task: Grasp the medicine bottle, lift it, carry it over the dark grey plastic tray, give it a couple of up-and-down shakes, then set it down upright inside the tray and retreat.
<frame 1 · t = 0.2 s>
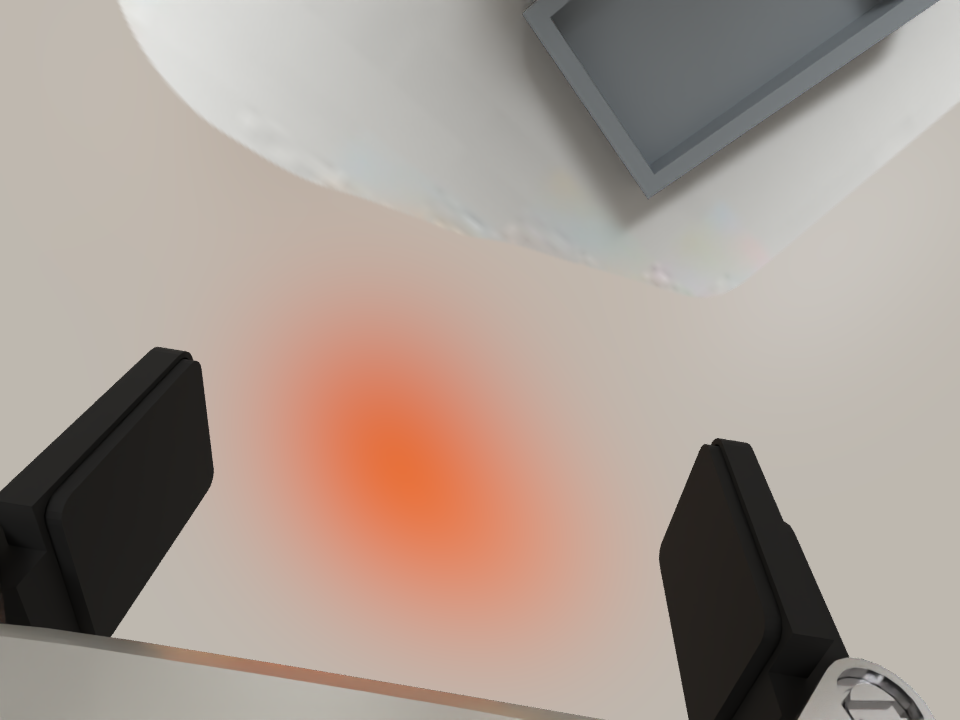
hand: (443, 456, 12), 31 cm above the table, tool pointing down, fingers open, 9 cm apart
tray: (712, 4, 34), on the table
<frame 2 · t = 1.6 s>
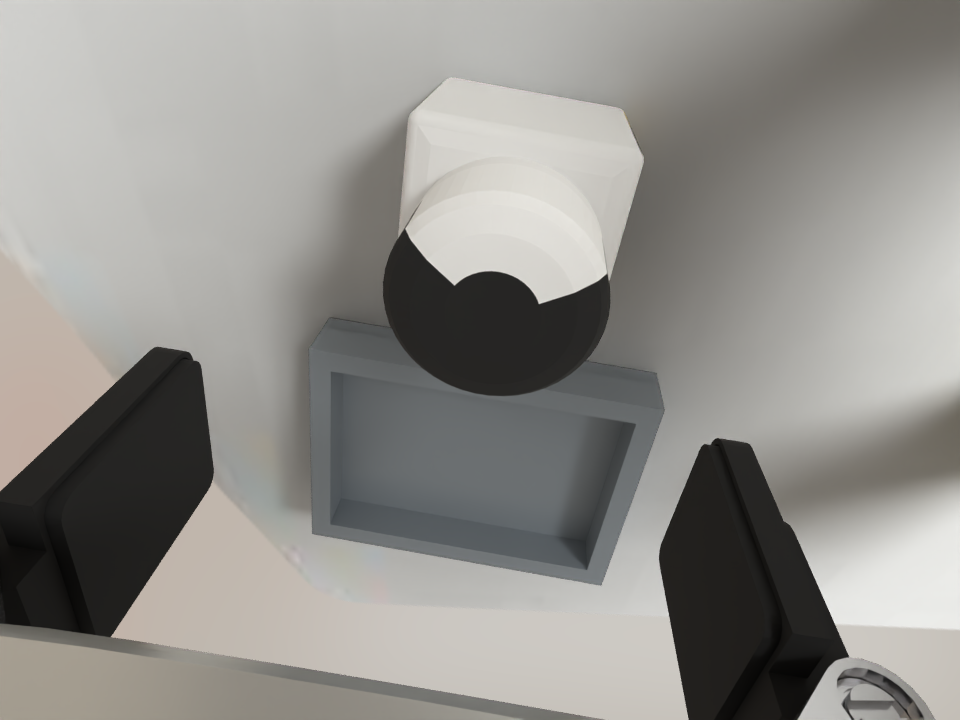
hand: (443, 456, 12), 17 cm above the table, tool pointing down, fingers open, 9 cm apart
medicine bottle: (519, 180, 26), on the table
tray: (476, 440, 34), on the table
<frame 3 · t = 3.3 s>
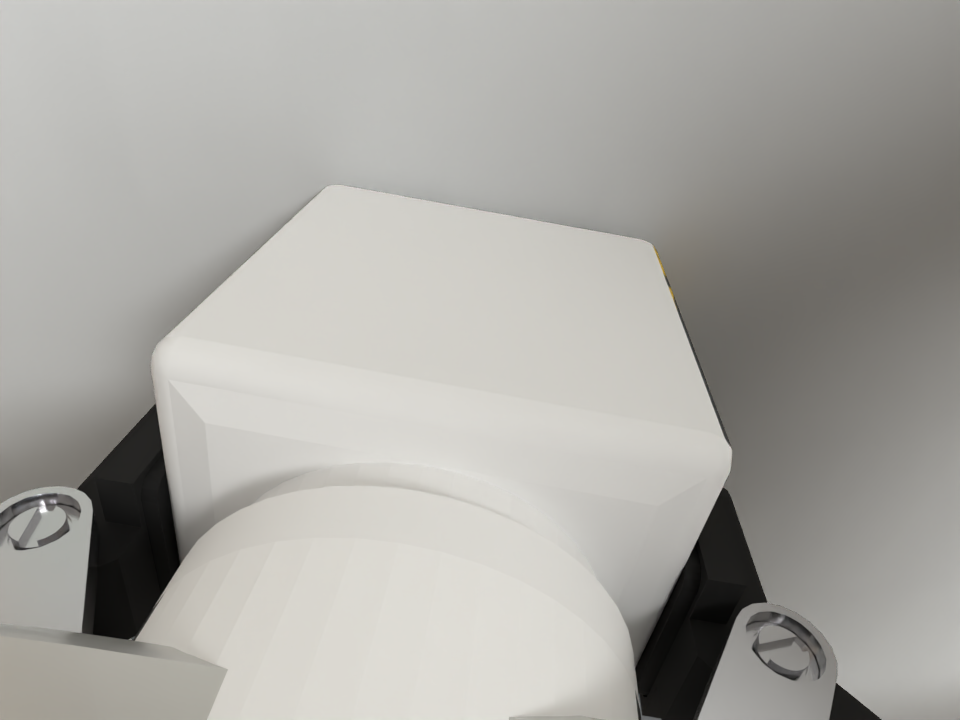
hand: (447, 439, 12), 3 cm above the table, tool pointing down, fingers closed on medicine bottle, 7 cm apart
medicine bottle: (469, 346, 15), on the table, touching gripper
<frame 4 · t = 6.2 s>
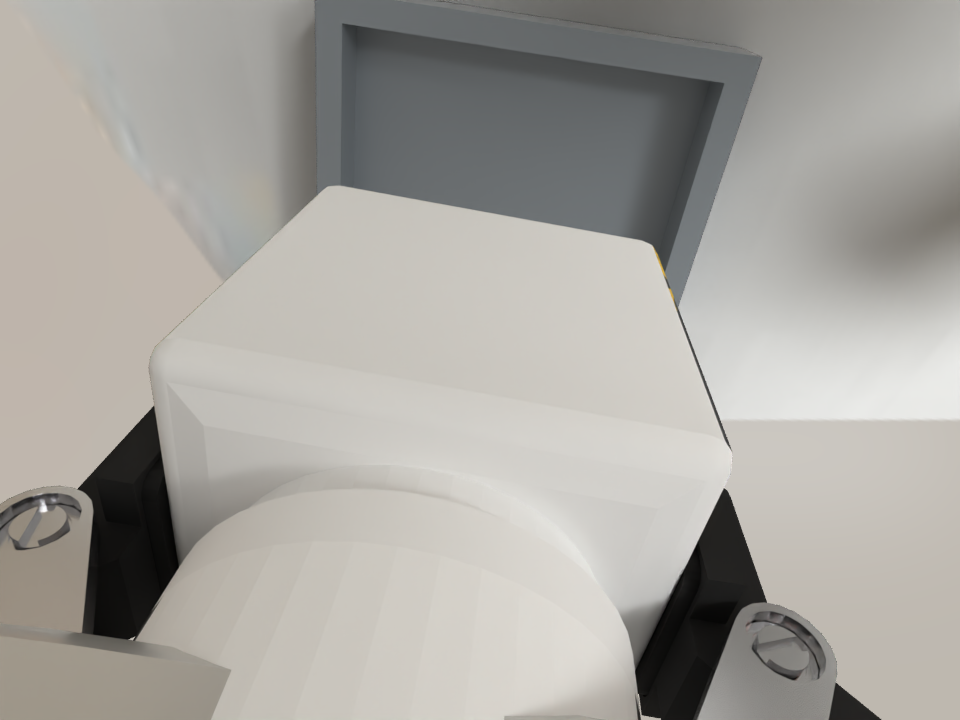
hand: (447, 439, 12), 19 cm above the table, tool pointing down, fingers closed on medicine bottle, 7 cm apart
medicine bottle: (468, 347, 15), point 15 cm above the table, touching gripper
tray: (515, 168, 28), on the table
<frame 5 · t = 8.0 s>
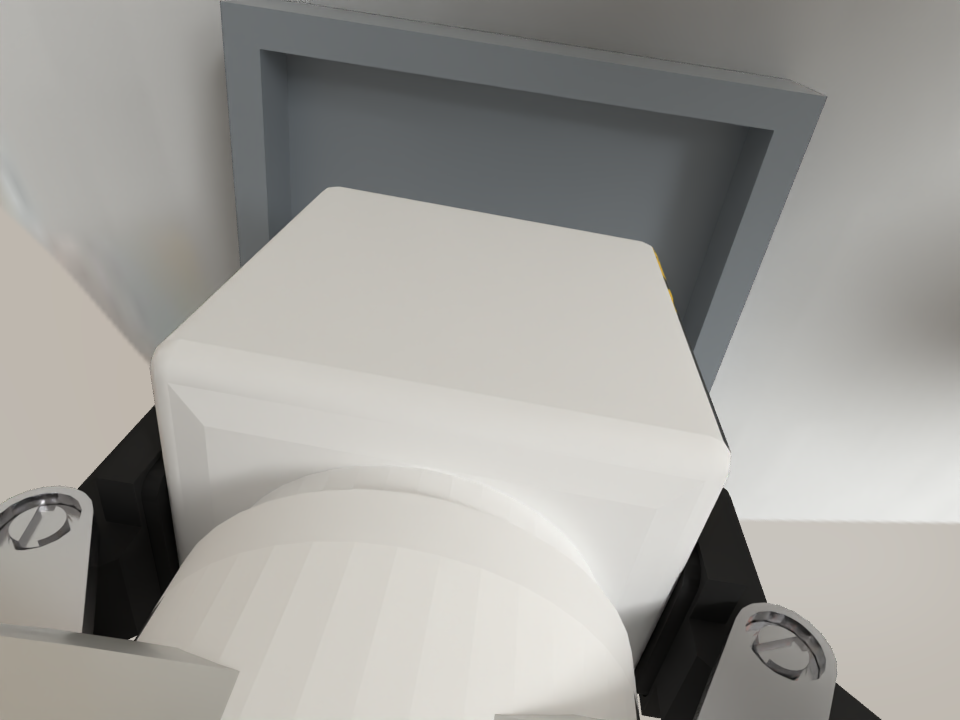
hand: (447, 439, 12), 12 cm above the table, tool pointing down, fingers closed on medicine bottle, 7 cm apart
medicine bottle: (468, 347, 15), point 8 cm above the table, touching gripper
tray: (496, 227, 22), on the table
when the fingers open (6 cm above the table, at t = 9.5 s): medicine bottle drops 1 cm, resting on tray.
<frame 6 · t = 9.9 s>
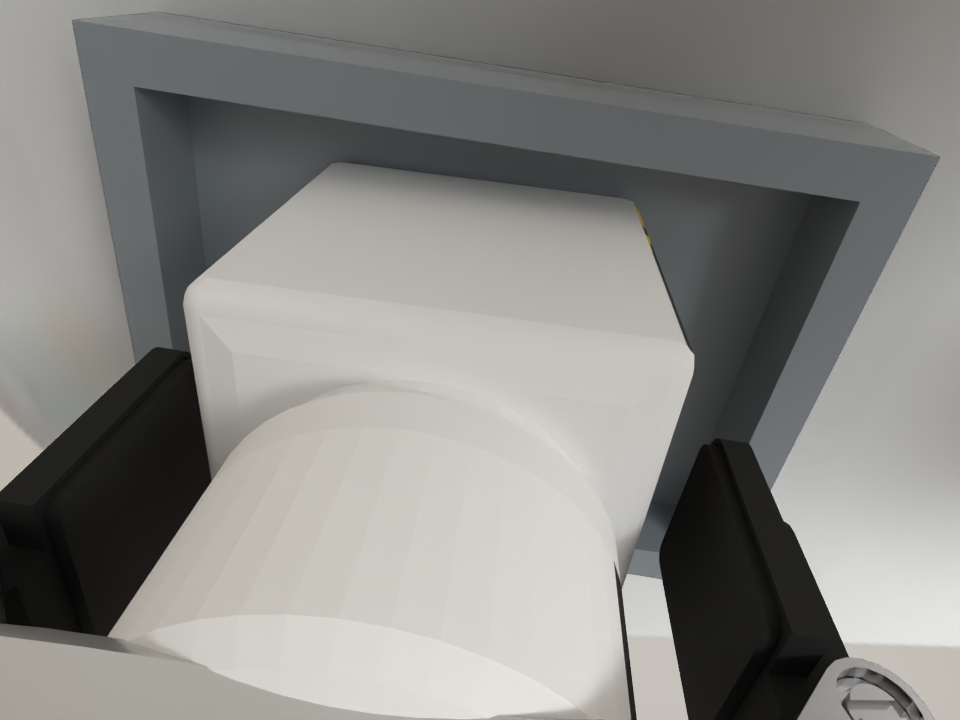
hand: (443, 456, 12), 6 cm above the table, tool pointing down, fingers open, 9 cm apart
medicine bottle: (469, 311, 16), point 1 cm above the table, touching tray
tray: (476, 306, 17), on the table
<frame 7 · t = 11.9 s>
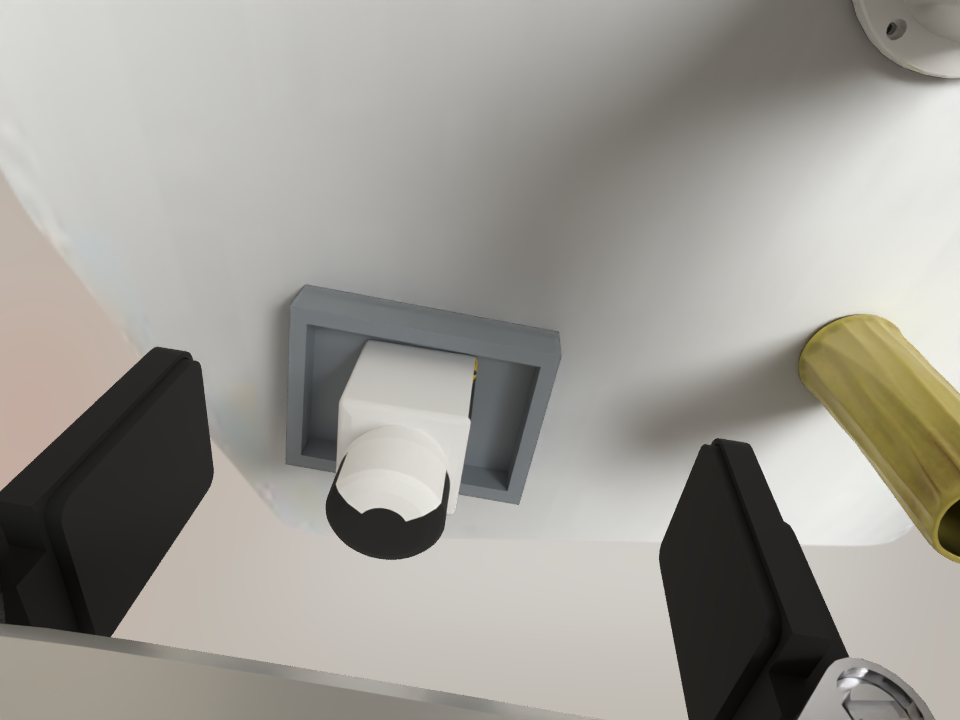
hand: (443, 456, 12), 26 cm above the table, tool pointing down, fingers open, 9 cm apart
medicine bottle: (417, 390, 41), point 1 cm above the table, touching tray
vase: (847, 355, 40), on the table
tray: (420, 387, 42), on the table
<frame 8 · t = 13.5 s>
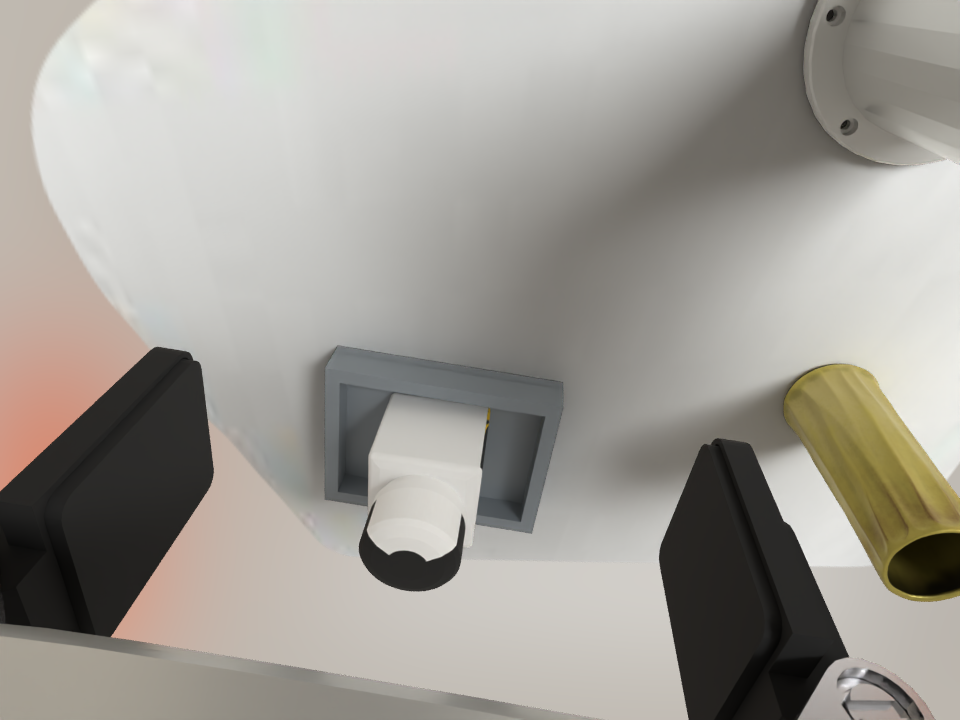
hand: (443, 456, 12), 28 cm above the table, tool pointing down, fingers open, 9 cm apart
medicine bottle: (438, 434, 47), point 1 cm above the table, touching tray
vase: (828, 398, 43), on the table
tray: (441, 430, 47), on the table
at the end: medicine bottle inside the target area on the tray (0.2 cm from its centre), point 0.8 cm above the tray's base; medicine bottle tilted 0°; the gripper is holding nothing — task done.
